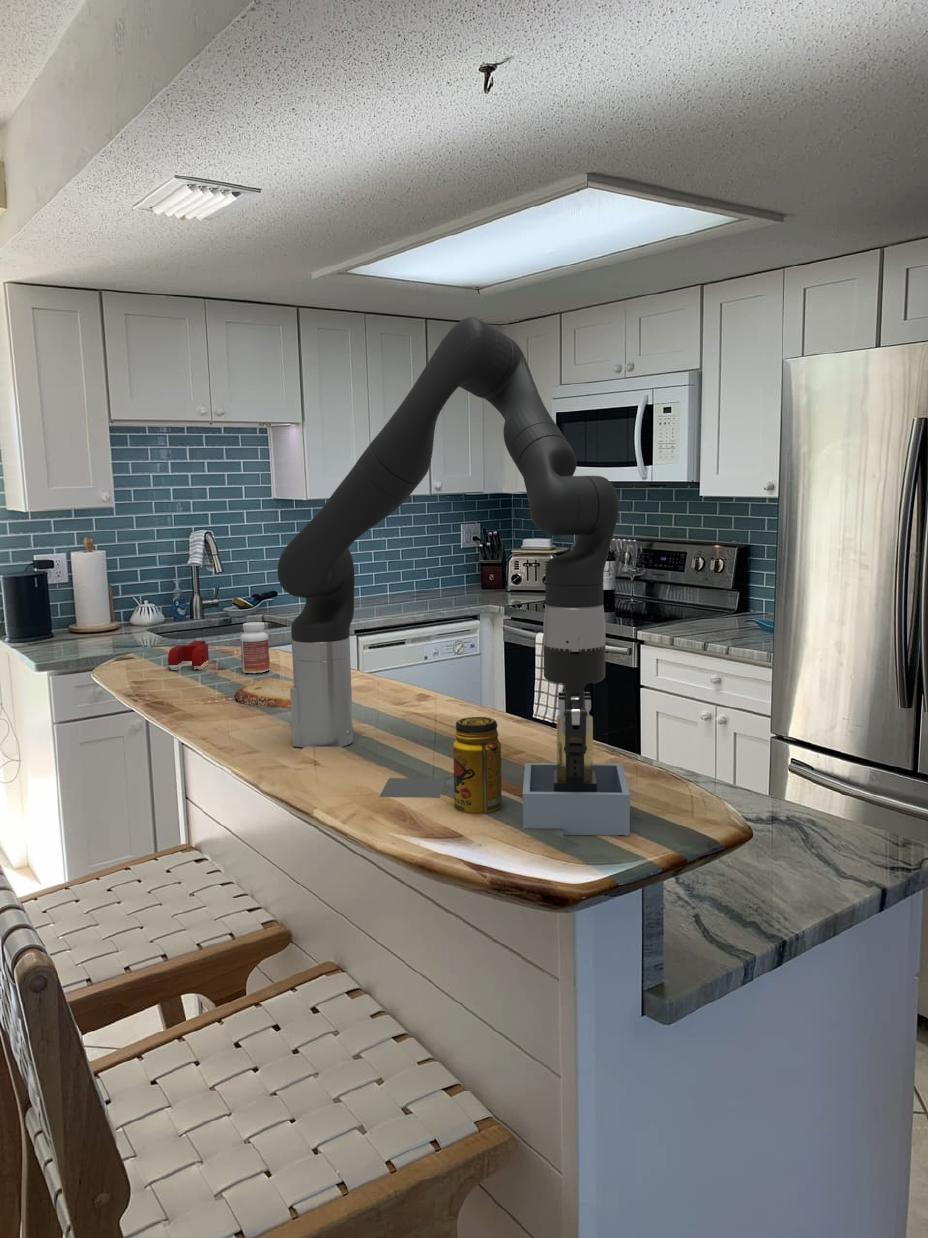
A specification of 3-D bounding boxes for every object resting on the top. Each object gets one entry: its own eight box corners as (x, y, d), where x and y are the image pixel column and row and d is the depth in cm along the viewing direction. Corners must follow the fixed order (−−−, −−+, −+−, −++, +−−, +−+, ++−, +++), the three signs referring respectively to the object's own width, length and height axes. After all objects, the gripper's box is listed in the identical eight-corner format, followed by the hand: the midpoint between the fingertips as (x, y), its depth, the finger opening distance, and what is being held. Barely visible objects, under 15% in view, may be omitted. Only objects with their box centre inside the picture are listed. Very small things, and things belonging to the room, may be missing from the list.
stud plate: (379, 802, 128) (379, 796, 128) (389, 783, 136) (389, 778, 136) (439, 803, 128) (439, 797, 128) (445, 784, 136) (445, 778, 136)
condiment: (440, 813, 124) (438, 722, 122) (482, 796, 130) (480, 709, 129) (484, 826, 119) (483, 731, 118) (525, 807, 126) (525, 717, 124)
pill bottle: (275, 672, 218) (273, 622, 216) (251, 676, 214) (249, 626, 212) (260, 668, 222) (258, 620, 221) (236, 672, 218) (234, 623, 217)
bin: (523, 834, 116) (522, 793, 115) (525, 799, 129) (525, 763, 128) (629, 835, 115) (630, 795, 114) (621, 800, 127) (622, 763, 127)
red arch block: (200, 672, 220) (199, 650, 220) (168, 672, 220) (167, 651, 219) (217, 659, 236) (216, 639, 235) (187, 659, 236) (186, 639, 235)
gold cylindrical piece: (553, 802, 119) (553, 722, 118) (553, 788, 124) (553, 712, 123) (596, 802, 119) (597, 722, 117) (594, 789, 124) (595, 712, 122)
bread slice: (343, 705, 186) (342, 685, 186) (249, 716, 179) (248, 696, 178) (316, 687, 202) (316, 670, 202) (229, 697, 195) (228, 678, 194)
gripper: (543, 632, 126) (544, 760, 129) (543, 651, 112) (543, 795, 114) (602, 632, 125) (601, 760, 128) (609, 651, 111) (608, 796, 114)
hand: (574, 776), depth 121 cm, fingers closed on gold cylindrical piece, 4 cm apart
